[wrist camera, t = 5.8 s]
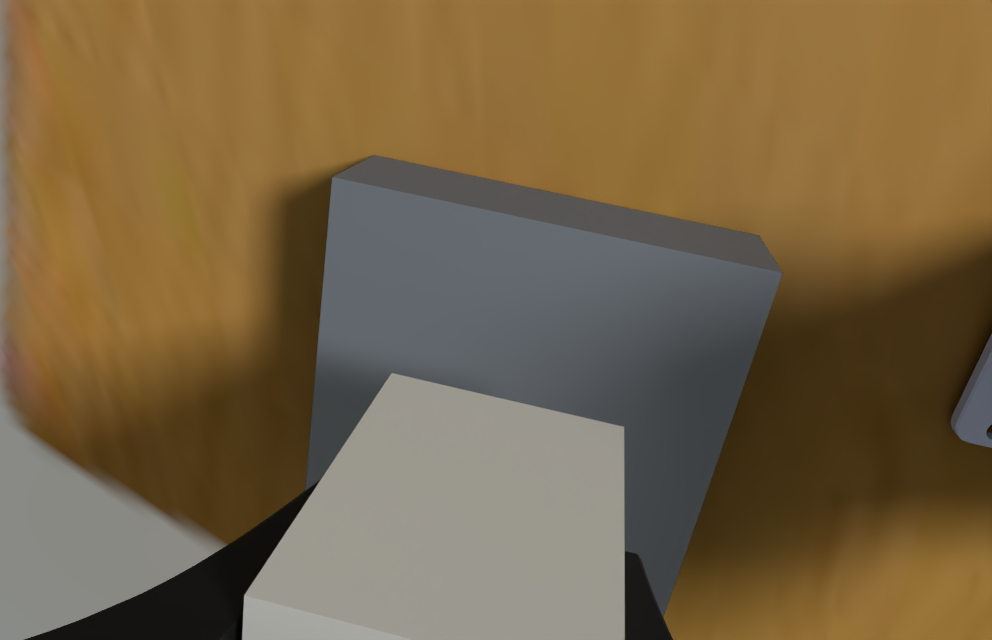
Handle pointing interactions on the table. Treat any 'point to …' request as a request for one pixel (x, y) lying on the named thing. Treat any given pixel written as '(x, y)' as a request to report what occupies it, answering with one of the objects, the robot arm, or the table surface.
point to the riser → (544, 324)
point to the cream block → (454, 528)
